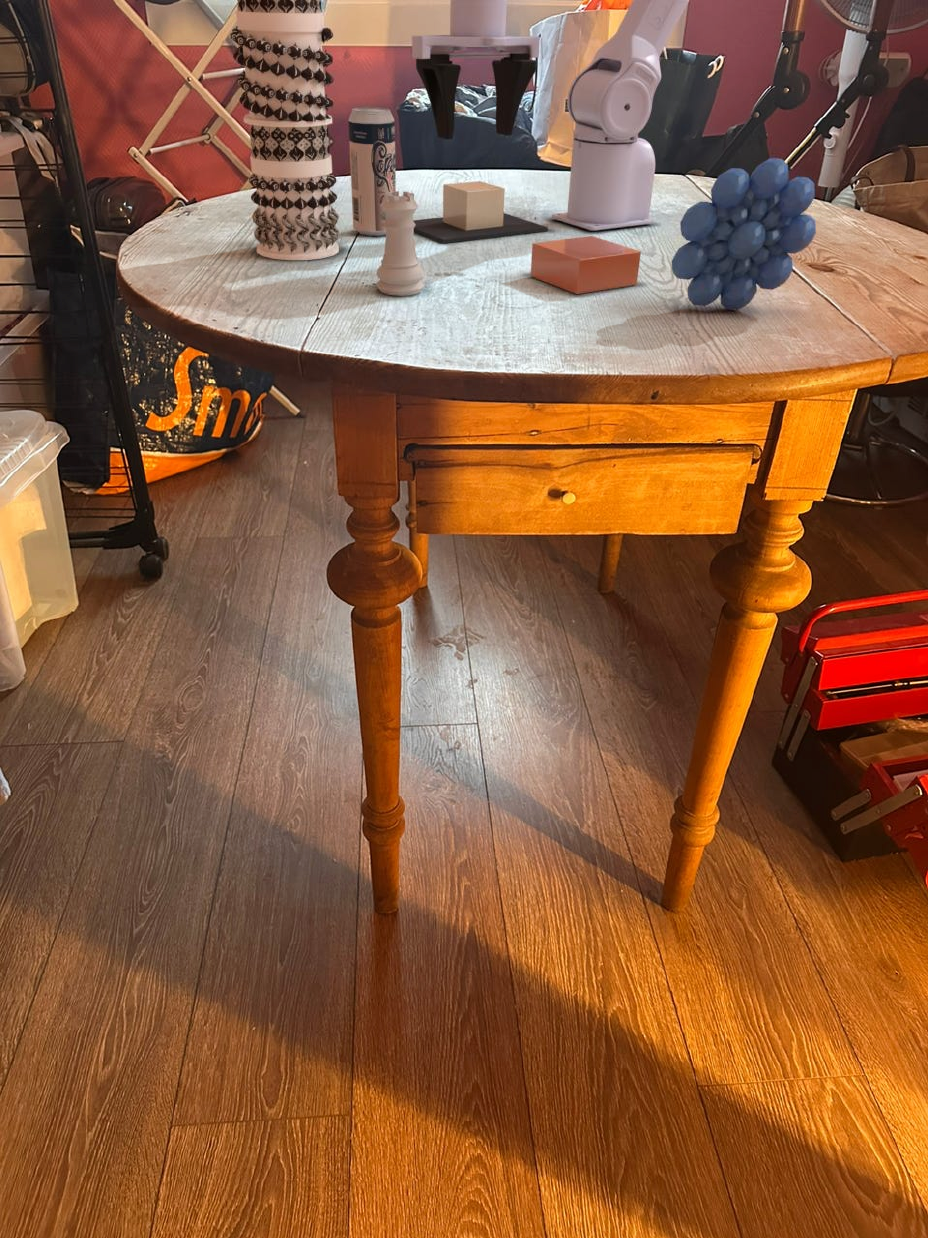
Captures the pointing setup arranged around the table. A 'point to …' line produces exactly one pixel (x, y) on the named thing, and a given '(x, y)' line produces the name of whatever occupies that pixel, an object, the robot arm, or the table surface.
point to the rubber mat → (450, 233)
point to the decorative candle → (288, 126)
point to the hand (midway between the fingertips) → (475, 135)
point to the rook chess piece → (399, 248)
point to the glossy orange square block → (585, 264)
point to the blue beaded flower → (745, 234)
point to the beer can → (371, 167)
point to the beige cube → (473, 205)
